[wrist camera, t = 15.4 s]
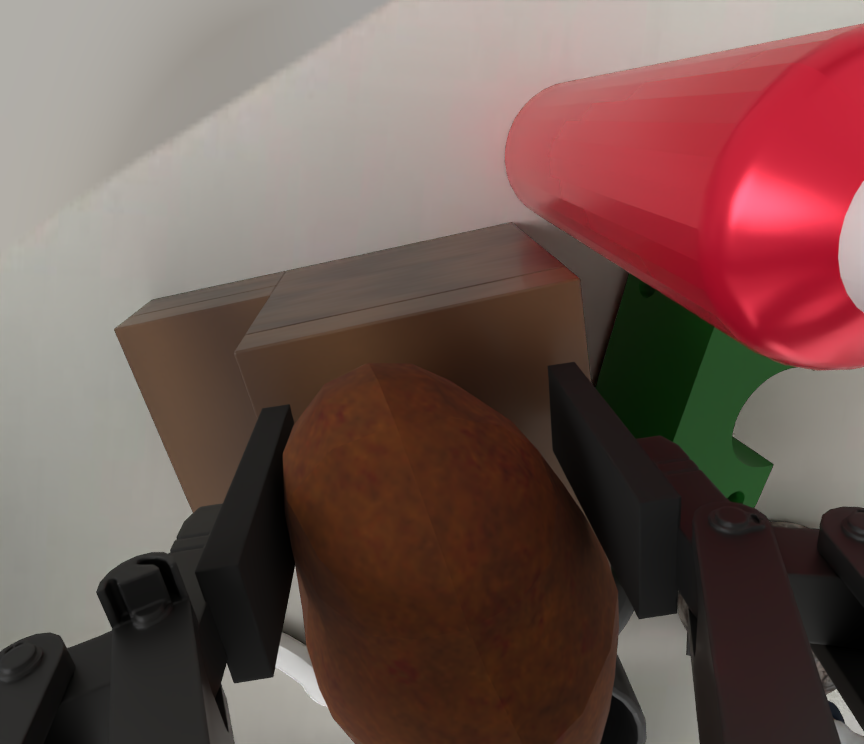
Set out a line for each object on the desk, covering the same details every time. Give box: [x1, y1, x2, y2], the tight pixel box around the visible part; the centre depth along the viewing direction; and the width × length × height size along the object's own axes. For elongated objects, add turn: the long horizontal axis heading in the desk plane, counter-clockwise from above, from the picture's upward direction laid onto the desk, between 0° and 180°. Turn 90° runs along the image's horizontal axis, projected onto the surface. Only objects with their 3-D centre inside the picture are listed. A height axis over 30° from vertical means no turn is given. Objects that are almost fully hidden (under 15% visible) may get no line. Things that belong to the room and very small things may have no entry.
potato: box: [283, 363, 619, 744], centre depth 15 cm, size 8×12×8 cm, turn 19°
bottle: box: [505, 23, 864, 370], centre depth 16 cm, size 6×5×20 cm
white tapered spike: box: [275, 633, 327, 707], centre depth 34 cm, size 15×3×2 cm, turn 48°
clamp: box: [596, 273, 815, 508], centre depth 27 cm, size 12×6×9 cm, turn 164°
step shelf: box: [114, 222, 611, 569], centre depth 24 cm, size 16×12×10 cm
